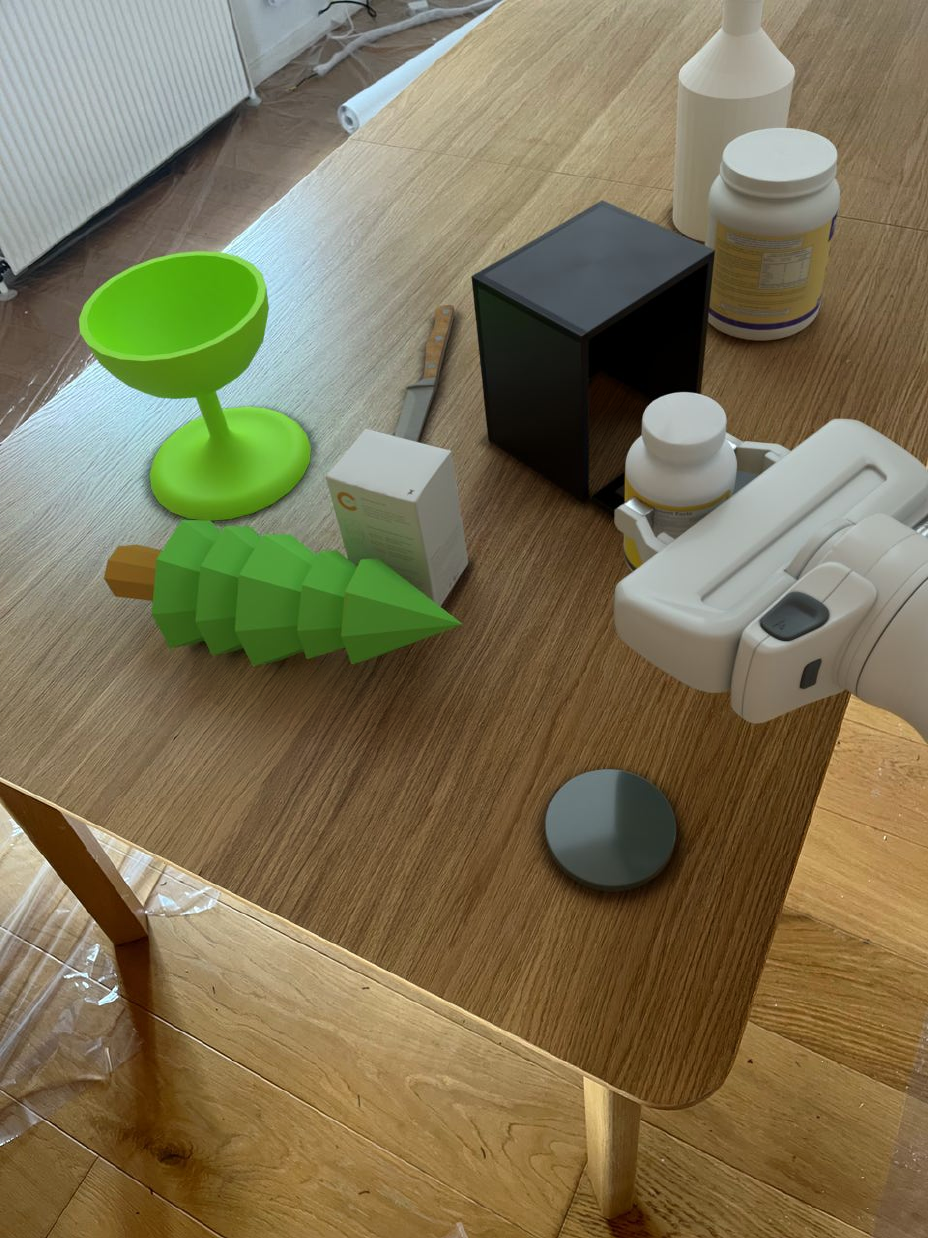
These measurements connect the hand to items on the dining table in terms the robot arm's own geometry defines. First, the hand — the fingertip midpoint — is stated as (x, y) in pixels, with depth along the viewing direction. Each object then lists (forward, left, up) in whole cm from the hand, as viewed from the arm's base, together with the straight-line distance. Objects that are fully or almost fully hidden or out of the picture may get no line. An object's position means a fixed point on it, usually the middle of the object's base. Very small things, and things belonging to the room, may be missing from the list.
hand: (667, 477), depth 62 cm
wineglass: (+33, -35, -22) cm, 53 cm away
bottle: (-25, -64, -22) cm, 72 cm away
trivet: (+6, +11, -22) cm, 25 cm away
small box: (+17, -16, -22) cm, 32 cm away
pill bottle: (-1, +1, -7) cm, 7 cm away
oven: (-6, -25, -22) cm, 34 cm away
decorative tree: (+28, -10, -22) cm, 37 cm away
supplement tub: (-23, -45, -22) cm, 55 cm away
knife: (+14, -39, -22) cm, 47 cm away
